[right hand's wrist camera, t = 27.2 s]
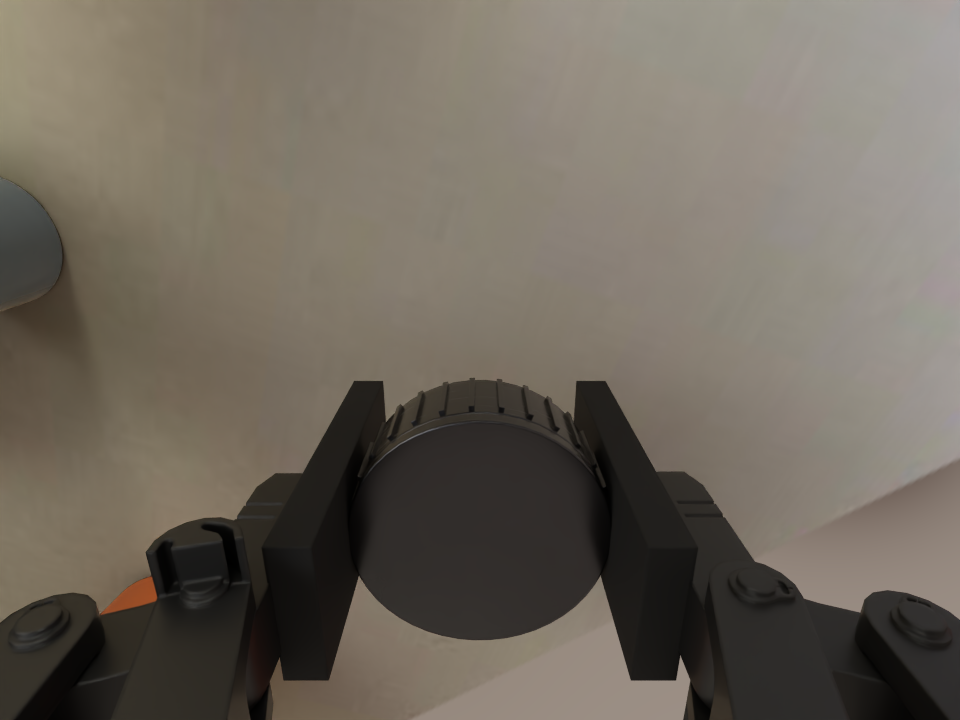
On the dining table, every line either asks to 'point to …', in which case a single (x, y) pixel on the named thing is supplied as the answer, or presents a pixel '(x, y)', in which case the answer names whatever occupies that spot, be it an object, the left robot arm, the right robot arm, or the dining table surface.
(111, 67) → the dining table surface
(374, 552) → the lid
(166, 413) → the dining table surface
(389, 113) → the dining table surface
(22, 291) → the blue-gray bottle
